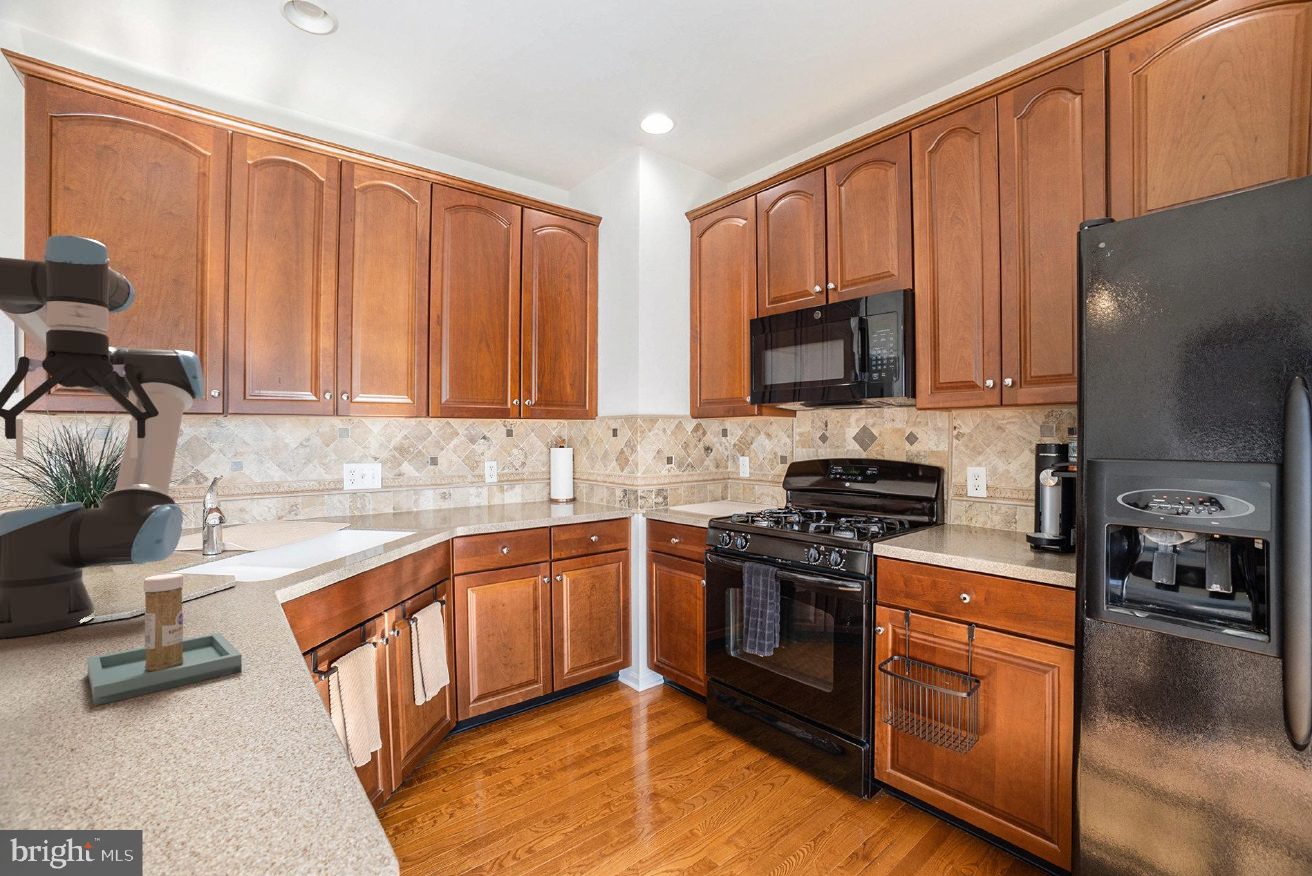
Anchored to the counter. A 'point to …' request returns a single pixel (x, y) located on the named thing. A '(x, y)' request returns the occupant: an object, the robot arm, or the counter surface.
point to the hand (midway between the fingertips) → (79, 459)
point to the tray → (129, 677)
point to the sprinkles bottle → (163, 621)
